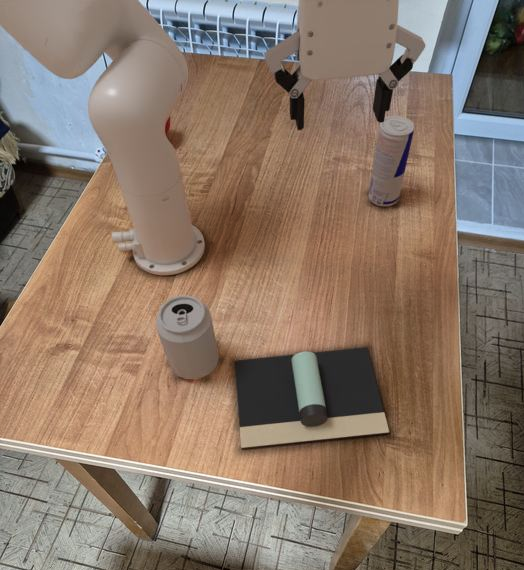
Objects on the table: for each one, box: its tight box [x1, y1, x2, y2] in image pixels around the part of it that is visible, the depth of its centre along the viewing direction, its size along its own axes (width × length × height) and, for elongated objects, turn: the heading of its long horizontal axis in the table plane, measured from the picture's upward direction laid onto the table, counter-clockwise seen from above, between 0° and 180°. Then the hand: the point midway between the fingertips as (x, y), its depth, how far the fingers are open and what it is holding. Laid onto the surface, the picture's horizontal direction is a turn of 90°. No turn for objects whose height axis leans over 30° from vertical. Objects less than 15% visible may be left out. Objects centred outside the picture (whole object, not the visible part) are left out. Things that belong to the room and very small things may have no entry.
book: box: [234, 346, 390, 450], centre depth 73 cm, size 20×14×1 cm
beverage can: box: [368, 115, 415, 208], centre depth 89 cm, size 6×6×15 cm
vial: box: [292, 351, 328, 427], centre depth 71 cm, size 10×4×4 cm, turn 5°
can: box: [155, 294, 220, 380], centre depth 72 cm, size 8×8×12 cm
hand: (338, 119), depth 62 cm, fingers open, 9 cm apart
